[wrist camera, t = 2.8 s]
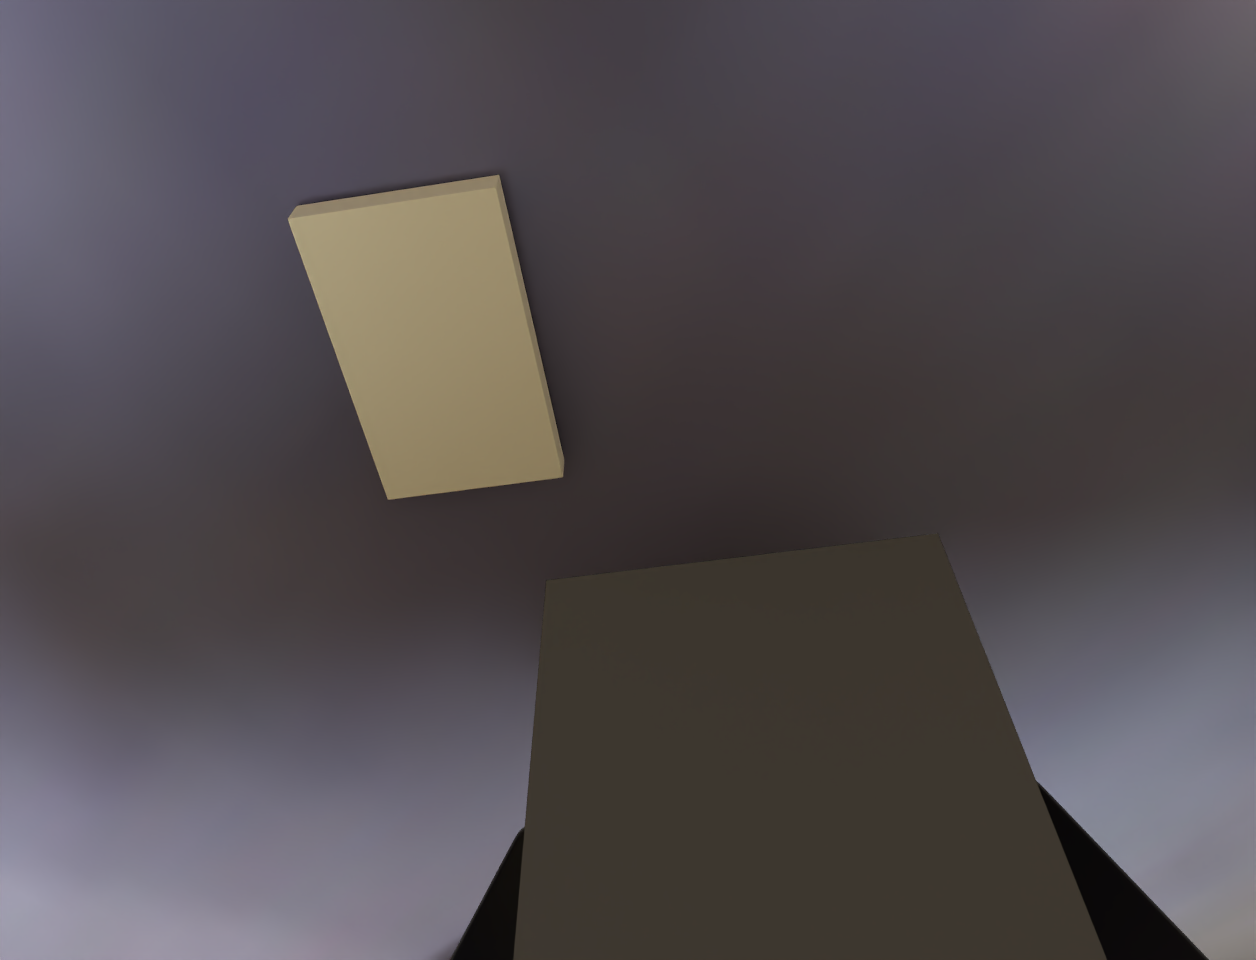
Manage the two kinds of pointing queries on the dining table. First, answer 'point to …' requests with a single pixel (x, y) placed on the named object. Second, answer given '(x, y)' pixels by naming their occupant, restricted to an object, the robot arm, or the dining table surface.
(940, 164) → the dining table surface
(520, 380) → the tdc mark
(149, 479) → the dining table surface
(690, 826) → the dark gray rectangular block
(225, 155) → the dining table surface
